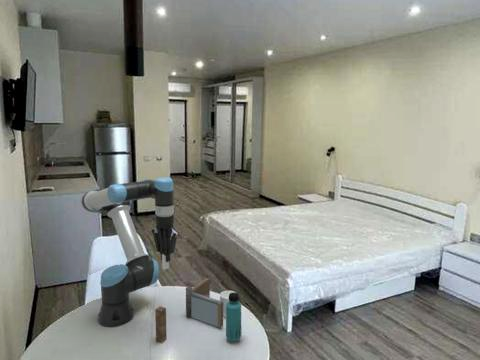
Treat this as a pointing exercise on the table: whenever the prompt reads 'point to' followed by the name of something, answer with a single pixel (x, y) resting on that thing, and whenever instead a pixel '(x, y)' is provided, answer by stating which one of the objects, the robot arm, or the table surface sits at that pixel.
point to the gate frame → (200, 289)
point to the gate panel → (207, 309)
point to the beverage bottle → (233, 318)
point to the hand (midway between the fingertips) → (165, 268)
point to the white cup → (225, 300)
